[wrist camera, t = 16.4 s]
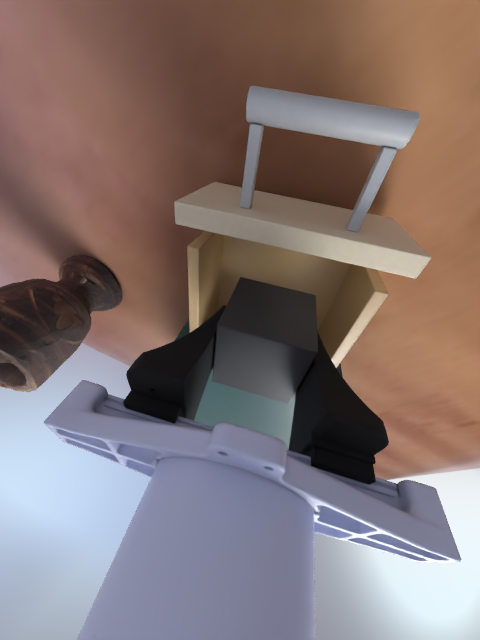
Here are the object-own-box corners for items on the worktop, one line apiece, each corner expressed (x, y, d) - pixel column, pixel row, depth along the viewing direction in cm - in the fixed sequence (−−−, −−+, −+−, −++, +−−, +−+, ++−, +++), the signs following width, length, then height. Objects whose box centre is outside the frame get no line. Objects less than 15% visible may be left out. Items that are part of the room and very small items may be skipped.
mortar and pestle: (57, 208, 22) (-448, 353, 7) (136, 251, 23) (-166, 455, 9) (66, 289, 30) (-175, 442, 15) (126, 319, 31) (-44, 490, 16)
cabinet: (206, 292, 25) (170, 345, 18) (335, 325, 23) (345, 394, 17) (203, 368, 34) (179, 421, 28) (295, 395, 33) (291, 456, 27)
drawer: (218, 91, 14) (165, 65, 9) (443, 128, 12) (534, 124, 7) (207, 314, 26) (183, 358, 21) (321, 344, 24) (324, 399, 19)
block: (293, 346, 17) (289, 404, 14) (232, 330, 18) (211, 382, 14) (316, 294, 14) (318, 352, 10) (240, 276, 14) (216, 325, 11)
